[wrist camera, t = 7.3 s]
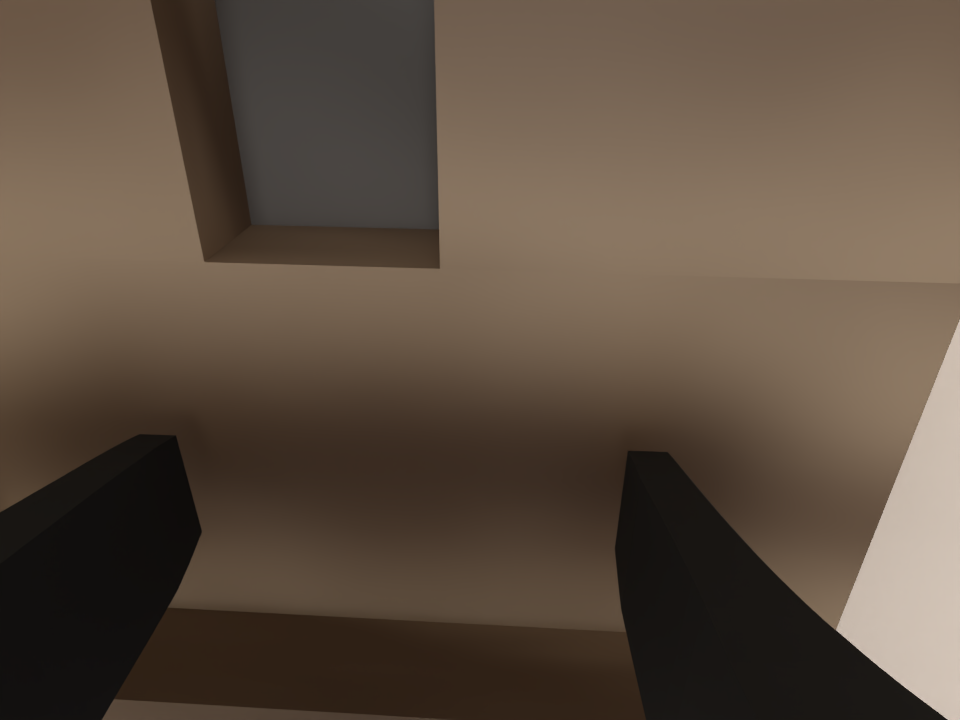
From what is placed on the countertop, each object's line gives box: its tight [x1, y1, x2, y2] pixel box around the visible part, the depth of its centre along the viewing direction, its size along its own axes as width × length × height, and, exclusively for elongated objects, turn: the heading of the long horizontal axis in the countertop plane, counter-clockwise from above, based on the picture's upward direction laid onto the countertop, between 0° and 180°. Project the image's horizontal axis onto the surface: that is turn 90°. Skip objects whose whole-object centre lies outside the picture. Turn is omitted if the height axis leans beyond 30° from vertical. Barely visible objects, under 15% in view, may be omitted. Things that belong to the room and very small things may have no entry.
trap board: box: [0, 0, 960, 720], centre depth 10 cm, size 16×23×5 cm
